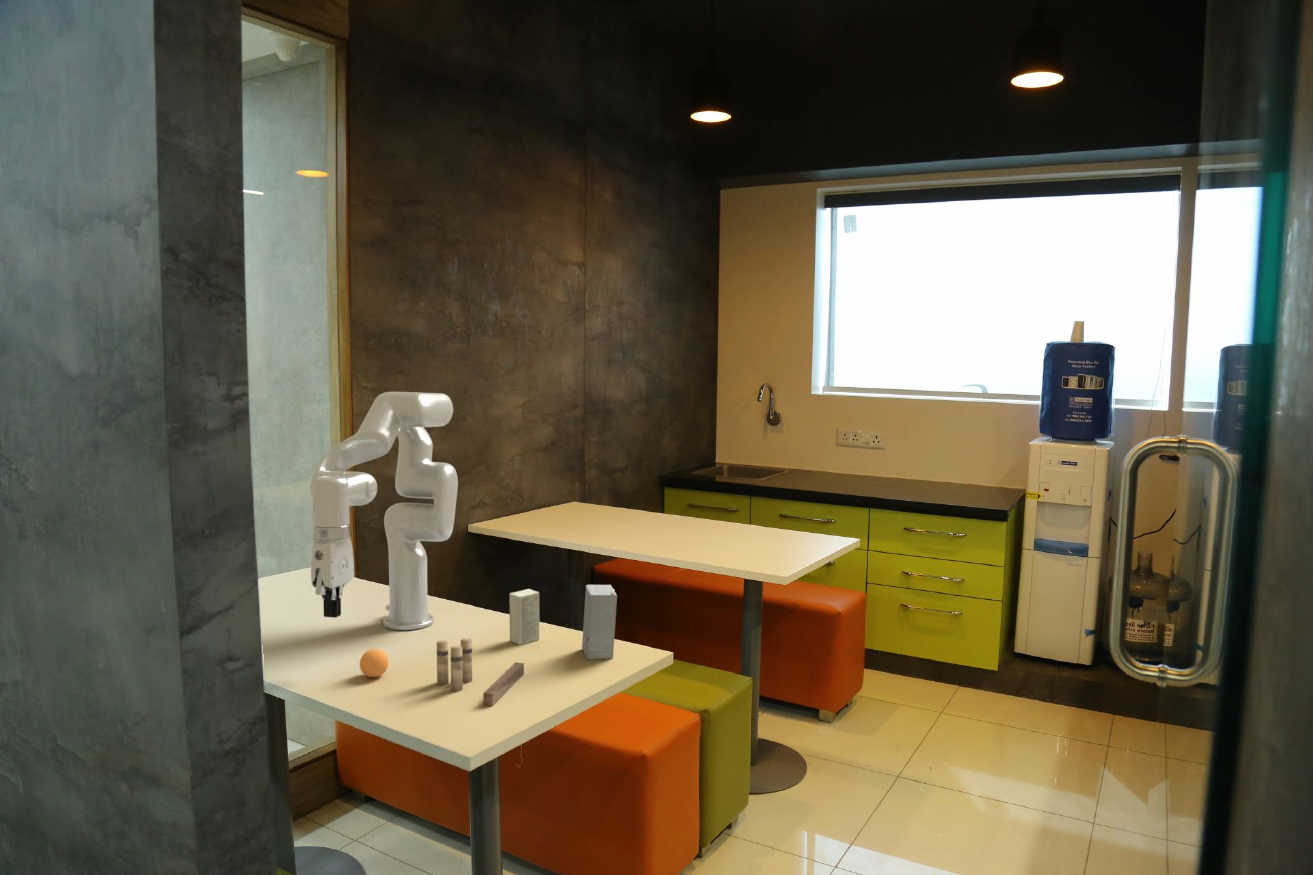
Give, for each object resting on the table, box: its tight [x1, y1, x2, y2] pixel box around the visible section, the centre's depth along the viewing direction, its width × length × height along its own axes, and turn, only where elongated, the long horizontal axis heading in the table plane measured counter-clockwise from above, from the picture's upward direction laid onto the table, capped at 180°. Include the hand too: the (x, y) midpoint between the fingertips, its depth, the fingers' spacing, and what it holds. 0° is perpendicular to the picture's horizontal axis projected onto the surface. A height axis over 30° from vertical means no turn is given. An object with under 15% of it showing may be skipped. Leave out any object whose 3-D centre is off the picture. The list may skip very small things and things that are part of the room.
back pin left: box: [460, 637, 473, 684], centre depth 189 cm, size 2×2×9 cm
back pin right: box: [450, 645, 464, 692], centre depth 184 cm, size 2×2×9 cm
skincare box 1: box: [508, 588, 540, 646], centre depth 216 cm, size 6×4×12 cm
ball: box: [359, 648, 389, 678], centre depth 191 cm, size 6×6×6 cm
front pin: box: [436, 639, 450, 686], centre depth 188 cm, size 2×2×9 cm
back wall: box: [482, 662, 525, 707], centre depth 185 cm, size 2×18×2 cm, turn 168°
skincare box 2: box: [581, 584, 618, 661], centre depth 207 cm, size 8×7×16 cm
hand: (332, 616), depth 191 cm, fingers closed
